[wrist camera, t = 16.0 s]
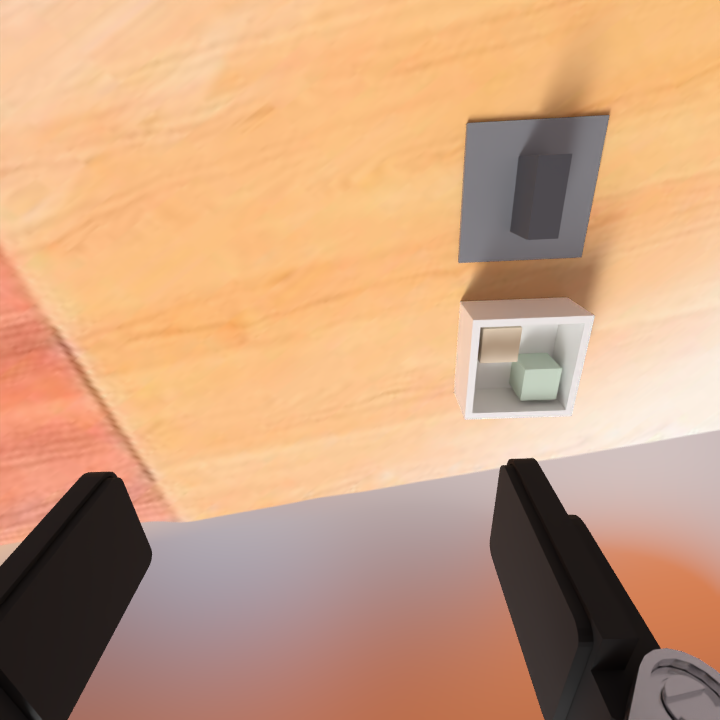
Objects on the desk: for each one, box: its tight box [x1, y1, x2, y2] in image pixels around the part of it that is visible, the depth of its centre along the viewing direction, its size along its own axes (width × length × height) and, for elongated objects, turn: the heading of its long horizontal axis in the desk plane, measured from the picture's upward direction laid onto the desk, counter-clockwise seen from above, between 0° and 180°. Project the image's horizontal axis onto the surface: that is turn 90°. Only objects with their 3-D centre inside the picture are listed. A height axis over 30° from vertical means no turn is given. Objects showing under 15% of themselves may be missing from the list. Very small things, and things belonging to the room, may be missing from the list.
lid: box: [458, 115, 609, 263], centre depth 38 cm, size 13×13×6 cm
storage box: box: [454, 297, 595, 419], centre depth 45 cm, size 12×12×6 cm
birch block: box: [477, 326, 522, 363], centre depth 44 cm, size 4×4×4 cm
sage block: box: [509, 353, 562, 401], centre depth 46 cm, size 4×4×4 cm
